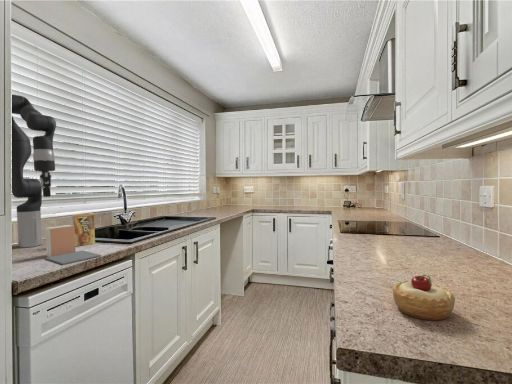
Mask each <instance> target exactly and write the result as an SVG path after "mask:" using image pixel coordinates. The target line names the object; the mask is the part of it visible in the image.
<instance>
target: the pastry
mask: <svg viewBox="0 0 512 384" xmlns="http://www.w3.org/2000/svg"><path fill="white" fill-rule="evenodd" d="M392 297H393V301H394V302H395V305H396V306H397V308H398V310H400V311H401V312H402V313H403V314H405V315H407V316H410V317H413V318H416V319H419V320H425V321H435V322H437V321H443V320H446V319H448V317H449V316H451V314H452V312H453V311H454V307H455V302H456V297H455V296H454V294H453V293H452V292H451V291H450V290H449V289H446V288H445V287H443V286H439V285H438V284H432V280H431V276H430V275H429V274H427V273H425V274H423V275H415V276H413V277H412V278H411V280H410V281H407V280H405V281H404V282H402V281H400V282H398V283H396V284H395V285H393V287H392Z"/></svg>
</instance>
